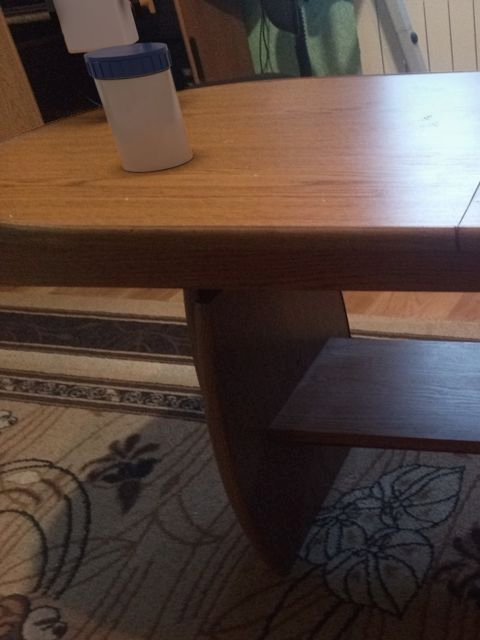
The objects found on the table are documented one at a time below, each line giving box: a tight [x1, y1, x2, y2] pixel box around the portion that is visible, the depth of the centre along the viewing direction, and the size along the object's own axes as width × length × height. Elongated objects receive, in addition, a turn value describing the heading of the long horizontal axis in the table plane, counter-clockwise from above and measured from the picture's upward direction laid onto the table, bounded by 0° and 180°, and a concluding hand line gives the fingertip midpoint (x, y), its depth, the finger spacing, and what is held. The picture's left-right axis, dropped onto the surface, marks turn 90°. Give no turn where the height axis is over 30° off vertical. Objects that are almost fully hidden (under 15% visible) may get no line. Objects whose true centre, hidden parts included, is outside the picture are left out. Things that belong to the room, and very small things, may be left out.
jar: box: [93, 66, 194, 173], centre depth 75 cm, size 7×7×11 cm
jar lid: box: [83, 42, 173, 79], centre depth 72 cm, size 8×8×2 cm
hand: (97, 15), depth 88 cm, fingers closed on medicine bottle, 9 cm apart
